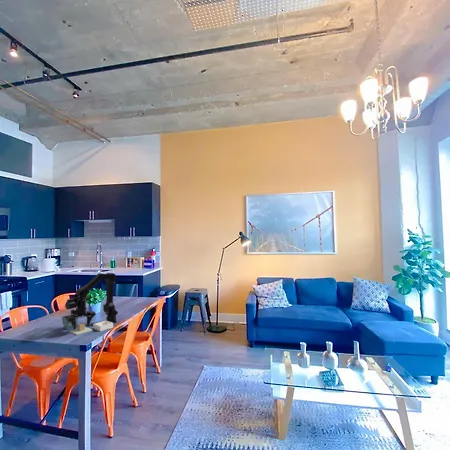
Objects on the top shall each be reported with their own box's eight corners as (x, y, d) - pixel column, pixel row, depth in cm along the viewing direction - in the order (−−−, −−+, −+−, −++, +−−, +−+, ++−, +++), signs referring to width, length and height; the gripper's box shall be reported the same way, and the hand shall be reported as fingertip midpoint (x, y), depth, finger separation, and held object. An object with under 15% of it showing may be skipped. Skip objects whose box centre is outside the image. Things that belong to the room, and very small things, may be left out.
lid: (84, 327, 206) (85, 320, 207) (92, 330, 200) (92, 323, 200) (69, 331, 198) (69, 324, 198) (76, 335, 191) (76, 327, 191)
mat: (85, 327, 208) (85, 327, 208) (94, 331, 200) (94, 330, 200) (67, 332, 197) (67, 332, 197) (76, 336, 190) (76, 335, 190)
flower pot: (73, 325, 213) (73, 314, 213) (78, 327, 208) (78, 316, 208) (61, 328, 206) (61, 316, 207) (66, 331, 201) (66, 318, 201)
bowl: (105, 325, 212) (106, 320, 212) (113, 328, 206) (113, 322, 206) (93, 329, 204) (93, 323, 204) (100, 332, 198) (100, 326, 198)
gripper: (88, 302, 212) (88, 322, 211) (62, 307, 197) (62, 329, 196) (96, 304, 205) (95, 325, 205) (69, 309, 190) (69, 332, 190)
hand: (81, 328), depth 199 cm, fingers open, 9 cm apart
